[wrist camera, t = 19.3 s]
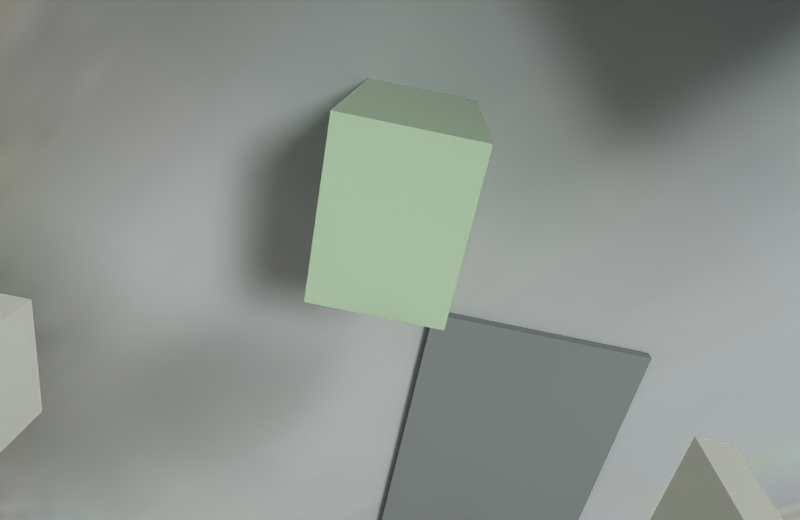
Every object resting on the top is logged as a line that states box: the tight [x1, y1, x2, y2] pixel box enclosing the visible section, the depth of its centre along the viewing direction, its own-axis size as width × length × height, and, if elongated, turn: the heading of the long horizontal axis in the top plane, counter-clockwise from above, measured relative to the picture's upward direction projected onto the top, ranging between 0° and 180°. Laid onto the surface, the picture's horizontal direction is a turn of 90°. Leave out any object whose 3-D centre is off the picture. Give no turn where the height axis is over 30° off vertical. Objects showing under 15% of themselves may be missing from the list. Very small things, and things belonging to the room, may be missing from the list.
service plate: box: [381, 313, 651, 520], centre depth 40 cm, size 24×14×1 cm, turn 169°
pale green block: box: [304, 79, 493, 330], centre depth 27 cm, size 8×6×11 cm
